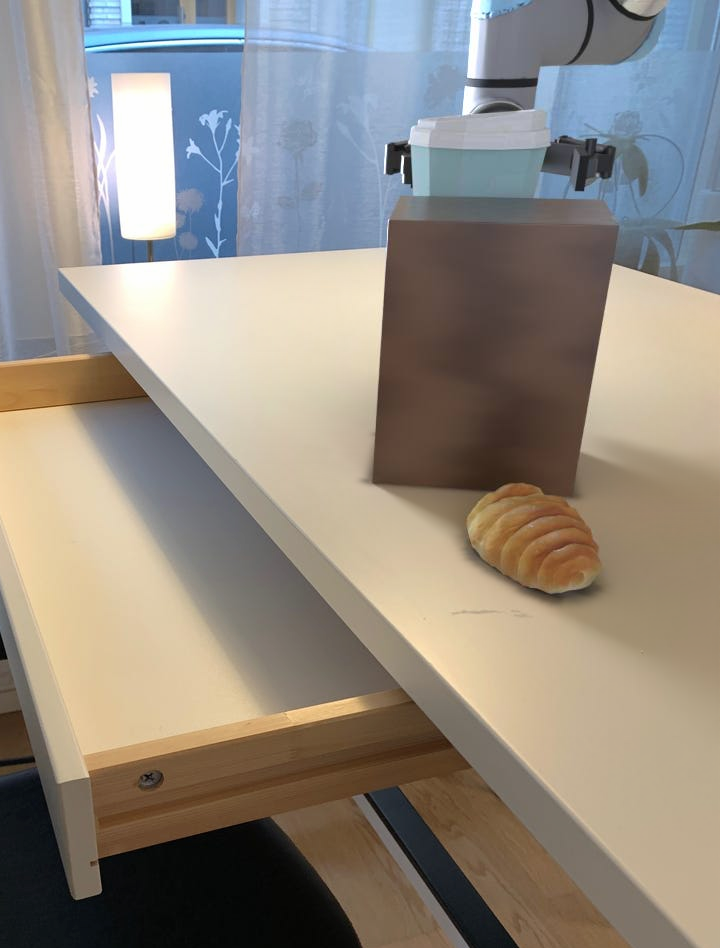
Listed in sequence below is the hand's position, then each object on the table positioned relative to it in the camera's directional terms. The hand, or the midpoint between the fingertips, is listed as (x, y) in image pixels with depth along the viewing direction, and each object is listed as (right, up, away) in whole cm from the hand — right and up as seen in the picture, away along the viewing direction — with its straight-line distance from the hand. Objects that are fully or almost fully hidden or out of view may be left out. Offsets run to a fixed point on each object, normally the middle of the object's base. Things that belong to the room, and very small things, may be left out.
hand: (498, 172), depth 85 cm
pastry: (-3, -34, -22) cm, 41 cm away
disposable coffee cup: (-4, -13, -3) cm, 14 cm away
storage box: (-3, -22, -3) cm, 23 cm away
